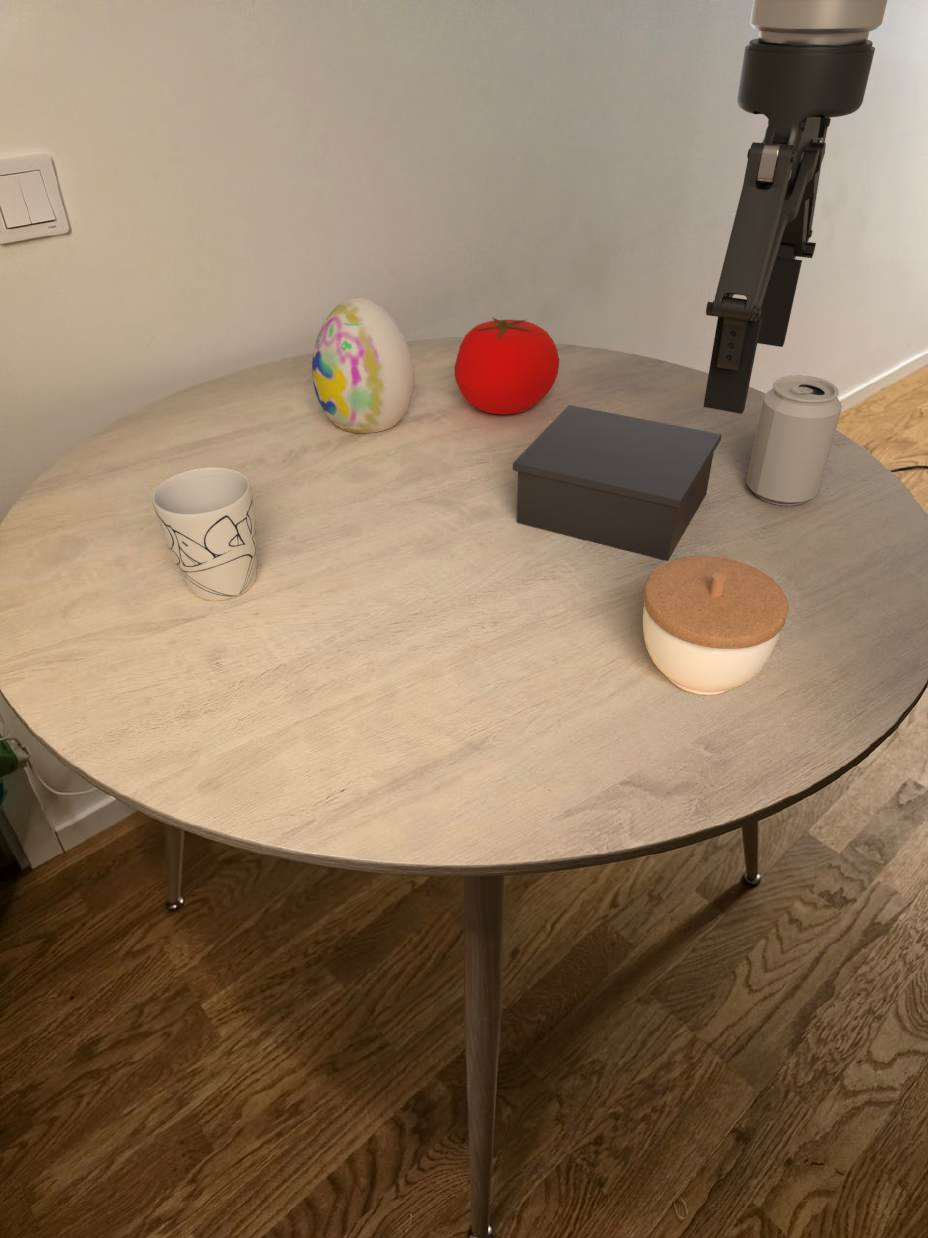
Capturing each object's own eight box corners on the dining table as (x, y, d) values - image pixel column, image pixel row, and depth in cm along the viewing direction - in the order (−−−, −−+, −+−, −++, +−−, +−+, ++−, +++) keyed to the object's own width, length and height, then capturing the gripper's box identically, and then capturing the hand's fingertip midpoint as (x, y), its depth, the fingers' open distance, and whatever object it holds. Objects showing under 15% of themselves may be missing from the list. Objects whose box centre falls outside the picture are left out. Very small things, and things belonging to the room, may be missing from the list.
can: (832, 497, 92) (863, 390, 84) (781, 516, 89) (808, 408, 81) (779, 468, 97) (803, 365, 89) (729, 486, 94) (750, 380, 87)
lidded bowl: (607, 667, 71) (617, 574, 65) (687, 613, 77) (703, 523, 71) (716, 737, 65) (738, 641, 59) (794, 672, 70) (822, 578, 65)
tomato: (436, 408, 111) (433, 322, 104) (506, 378, 118) (507, 296, 111) (505, 437, 104) (506, 347, 97) (573, 403, 111) (579, 317, 104)
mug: (149, 566, 84) (121, 475, 78) (227, 535, 88) (207, 446, 82) (202, 621, 77) (177, 526, 71) (284, 584, 81) (267, 491, 75)
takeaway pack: (711, 493, 93) (721, 434, 88) (670, 564, 83) (680, 501, 78) (565, 461, 99) (569, 404, 95) (511, 523, 89) (512, 462, 84)
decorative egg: (299, 419, 109) (281, 299, 100) (376, 390, 115) (366, 275, 106) (357, 452, 102) (344, 325, 93) (436, 419, 108) (431, 298, 99)
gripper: (788, 18, 62) (736, 314, 75) (692, 56, 45) (646, 430, 58) (901, 19, 59) (826, 326, 72) (844, 60, 42) (759, 453, 55)
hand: (746, 373), depth 65 cm, fingers open, 13 cm apart
